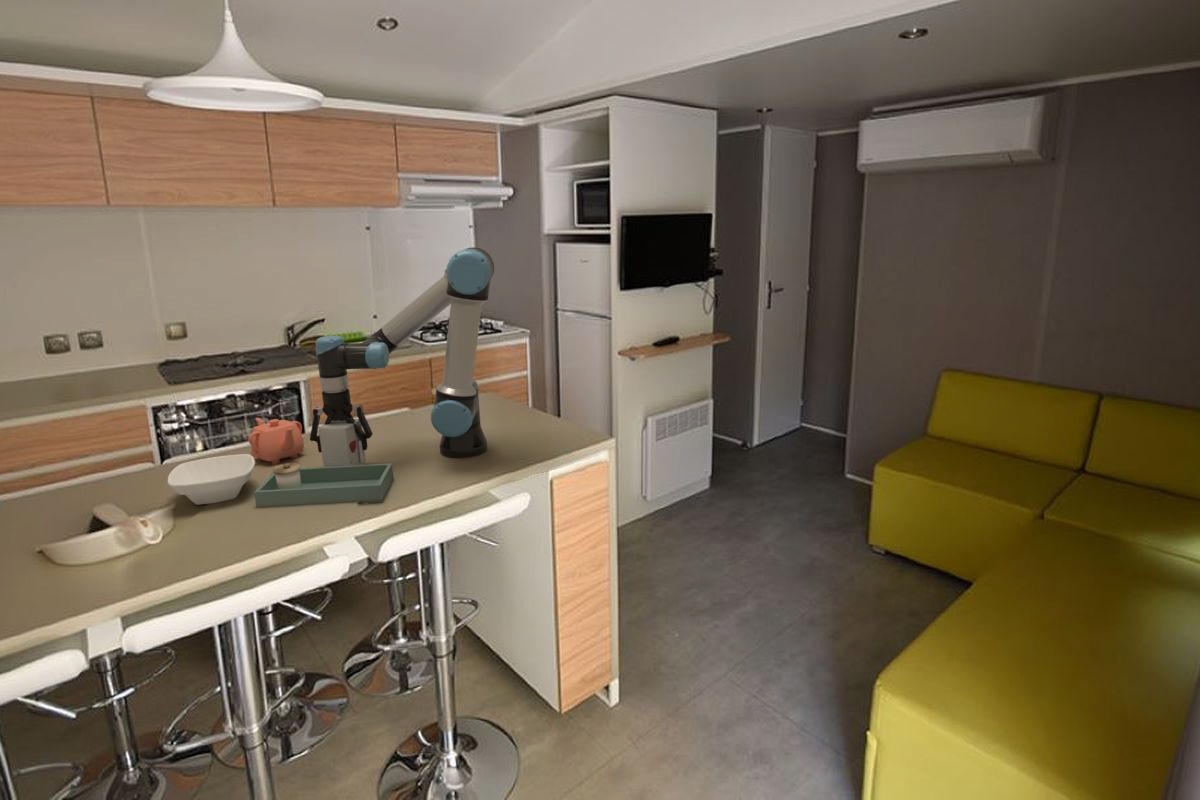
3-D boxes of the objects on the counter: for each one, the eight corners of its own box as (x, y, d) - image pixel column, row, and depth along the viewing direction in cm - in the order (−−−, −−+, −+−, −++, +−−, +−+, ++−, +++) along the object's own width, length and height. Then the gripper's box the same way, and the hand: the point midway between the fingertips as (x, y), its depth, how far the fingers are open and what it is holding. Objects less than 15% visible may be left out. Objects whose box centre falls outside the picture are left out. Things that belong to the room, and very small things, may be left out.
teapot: (298, 465, 206) (292, 426, 203) (242, 468, 205) (235, 428, 202) (313, 448, 221) (308, 412, 217) (261, 451, 219) (255, 414, 216)
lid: (304, 464, 185) (303, 459, 185) (295, 473, 179) (294, 468, 178) (278, 466, 184) (277, 460, 184) (269, 475, 178) (268, 469, 177)
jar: (305, 488, 187) (302, 464, 185) (298, 497, 181) (294, 473, 179) (283, 489, 186) (279, 466, 184) (275, 498, 180) (271, 474, 178)
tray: (393, 479, 194) (392, 463, 192) (382, 502, 178) (380, 485, 177) (278, 486, 191) (276, 469, 189) (256, 510, 175) (253, 492, 174)
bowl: (167, 520, 171) (161, 489, 168) (180, 490, 189) (174, 462, 187) (257, 505, 179) (252, 475, 176) (261, 478, 197) (256, 450, 195)
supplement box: (351, 476, 197) (345, 427, 193) (323, 474, 198) (316, 426, 194) (367, 465, 205) (361, 418, 201) (341, 463, 207) (334, 417, 203)
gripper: (378, 384, 200) (386, 454, 206) (299, 388, 198) (309, 458, 204) (372, 391, 192) (380, 463, 199) (290, 394, 190) (301, 467, 196)
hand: (344, 461), depth 201 cm, fingers closed on supplement box, 10 cm apart
